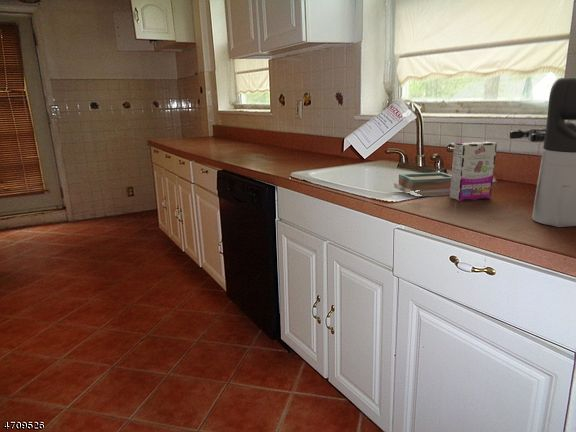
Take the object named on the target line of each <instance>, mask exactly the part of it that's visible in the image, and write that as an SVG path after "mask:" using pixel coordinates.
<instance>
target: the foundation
mask: <svg viewBox="0 0 576 432" xmlns="http://www.w3.org/2000/svg"><path fill="white" fill-rule="evenodd" d="M451 175H452V174H448V173H445V172H443V171H442V172H420V173H417V172H416V173H399V175H398V182H394V185H393V188H394V189H396V190H399V191H401V192H403V193H405V192H410V191H414V192H415V191H416V190H420V191H418V192H415V193H417V194H420V195H422V197H436V196H450V187H451Z"/></svg>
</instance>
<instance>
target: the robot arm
mask: <svg viewBox="0 0 576 432" xmlns="http://www.w3.org/2000/svg"><path fill="white" fill-rule="evenodd" d="M548 97H549V99H548V105H547V107H548V108H547V117H546V125H545V127H541V128H530V129H529V128H528V129H527V128H526V129H525V128H524V129H521V128H519V129H517V130H513V131H512V130H511V131H510V132H509V139H512V140H515V139H517V140H518V139H521V140H525V139H526V140H528V141H530V142H532V143H541V142H542V143H543V147H542V154H541V159H540V160H541V161H540V166H539V172H538V179H537V184H536V191H535V197H534V202H533V209H532V216H531V220H533V221H534V222H536V223H539V224H543V225H547V226H553V227H556V228H564V227H565V228H566V227H567V228H568V227H576V76H574V77H572V76H571V77H569V76H568V77H560V78H557V79H556V80H555V81H554V82H553V83H552V86H551V88H550V93H549V96H548ZM565 120H566V121H565Z"/></svg>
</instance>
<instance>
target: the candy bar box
mask: <svg viewBox="0 0 576 432" xmlns="http://www.w3.org/2000/svg"><path fill="white" fill-rule="evenodd" d="M452 152H453V155H452V164H451V166H452V167H451V174H450V175H451V187H450V195H449V198H450V199H452V200H455V201H457V202H458V201H459V202H463V201H473V200H475V201H476V200H477V201H478V200H486V199H492V198H491V197H492V192H493V191H492V189H493V180H494V172H495V163H496V155H497V142H493V141H470V142H469V141H468V142H455V143H453V151H452Z"/></svg>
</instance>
